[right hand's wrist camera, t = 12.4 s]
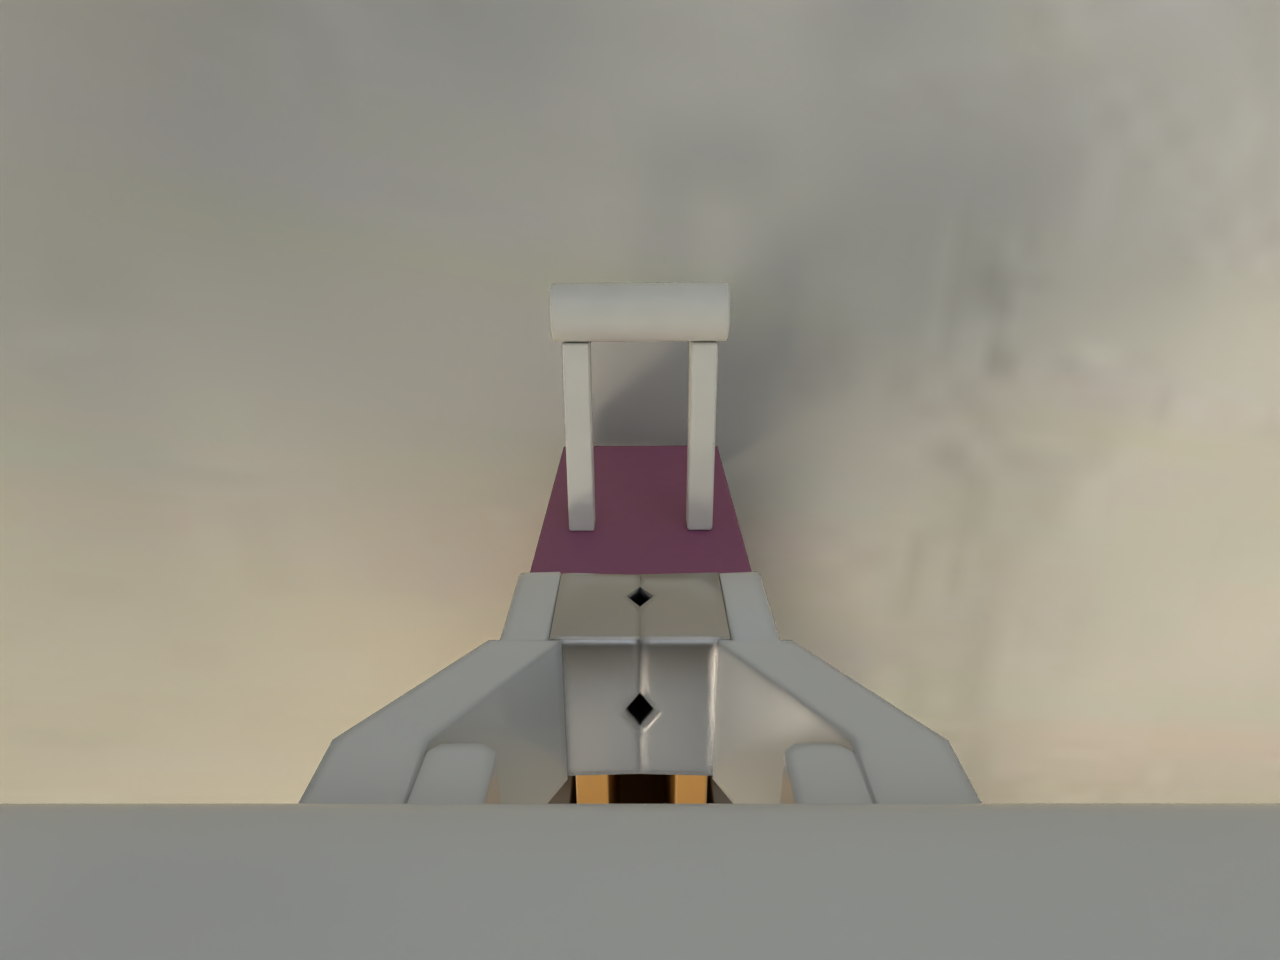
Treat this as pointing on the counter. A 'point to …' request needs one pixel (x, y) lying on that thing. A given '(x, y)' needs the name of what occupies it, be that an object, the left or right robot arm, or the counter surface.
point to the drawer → (640, 473)
